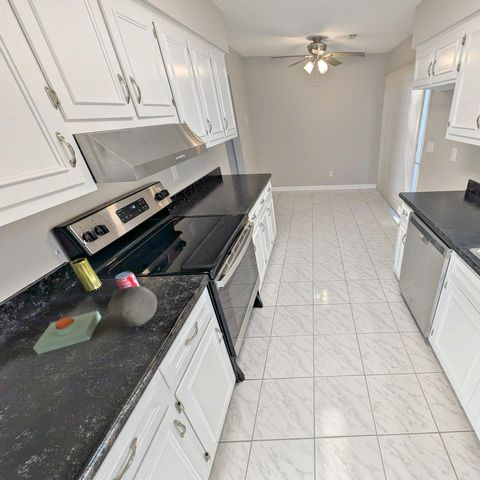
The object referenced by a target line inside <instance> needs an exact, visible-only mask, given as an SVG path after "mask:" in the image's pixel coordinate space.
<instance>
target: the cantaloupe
mask: <svg viewBox="0 0 480 480" xmlns="http://www.w3.org/2000/svg"><path fill="white" fill-rule="evenodd" d="M157 307H158V299H157V296H156V295H155V294H154V292H153V291H151V290H150V289H149V288H147V287H144V286H141V285H139V286H131V287H126V288H124V289H122V290H120V289H119V291H117V292H116V293H115V294H114V295H112V297H111V298H110V299H109V302H108V305H107V315H108V317H109V319H111V320H112V322H113V323H114V324H116V325H118V326H119V327H122V328H127V329H128V328H129V329H131V328H136V327H141V326H143V325H144V324H146V323H148V322H149V321H150V320H151V319H152V318H153V317H154V315H155V313H156V312H157V310H158V309H157Z"/></svg>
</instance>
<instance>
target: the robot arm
mask: <svg viewBox="0 0 480 480" xmlns="http://www.w3.org/2000/svg"><path fill="white" fill-rule="evenodd" d="M82 243H83V244H84V245H83V246H86V245H88V243H86V242H85V240H84V241H83V242H82ZM55 252H56V253H55V254H56V255H59V254H61V251H59V249H57V250H56V251H55Z"/></svg>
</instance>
